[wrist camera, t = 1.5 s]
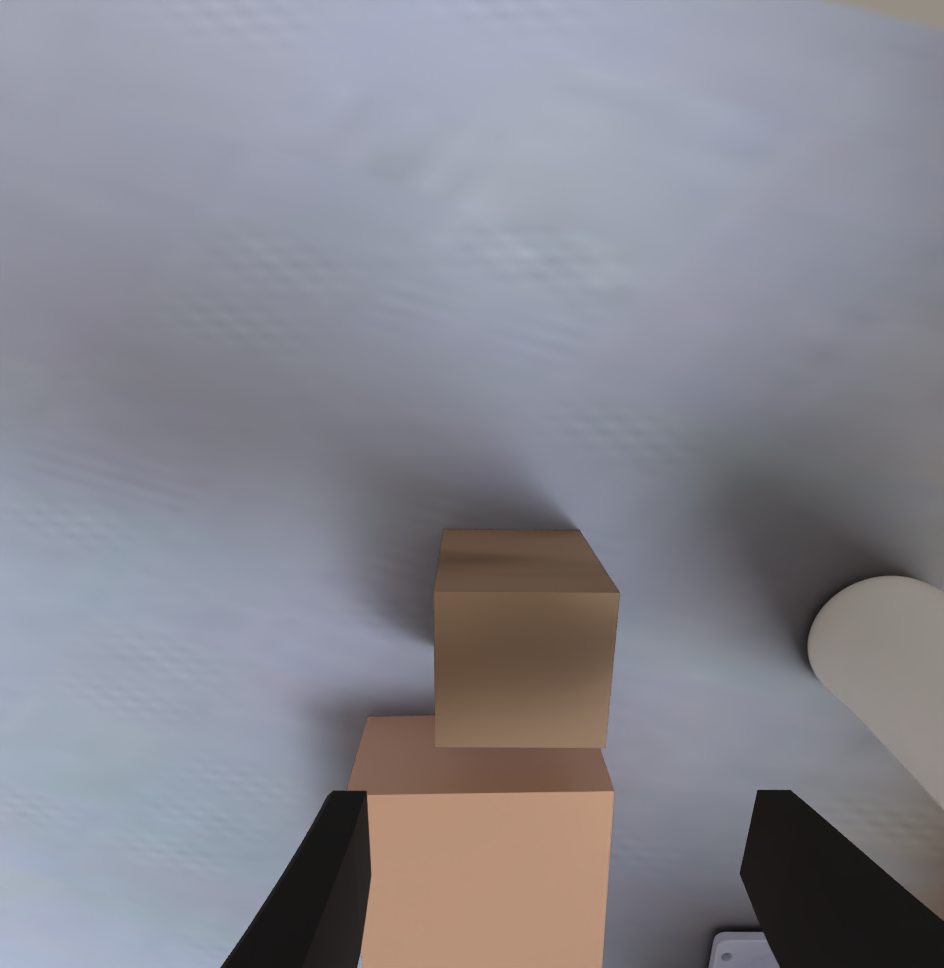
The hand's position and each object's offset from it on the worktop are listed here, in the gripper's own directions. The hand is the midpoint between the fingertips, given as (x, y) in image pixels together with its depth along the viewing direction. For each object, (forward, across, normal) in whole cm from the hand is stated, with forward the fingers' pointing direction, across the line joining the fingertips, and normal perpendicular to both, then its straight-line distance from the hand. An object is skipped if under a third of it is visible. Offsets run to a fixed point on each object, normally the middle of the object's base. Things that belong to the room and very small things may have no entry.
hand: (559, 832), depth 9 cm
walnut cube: (+10, 0, 0) cm, 10 cm away
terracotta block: (+10, +1, +10) cm, 14 cm away
